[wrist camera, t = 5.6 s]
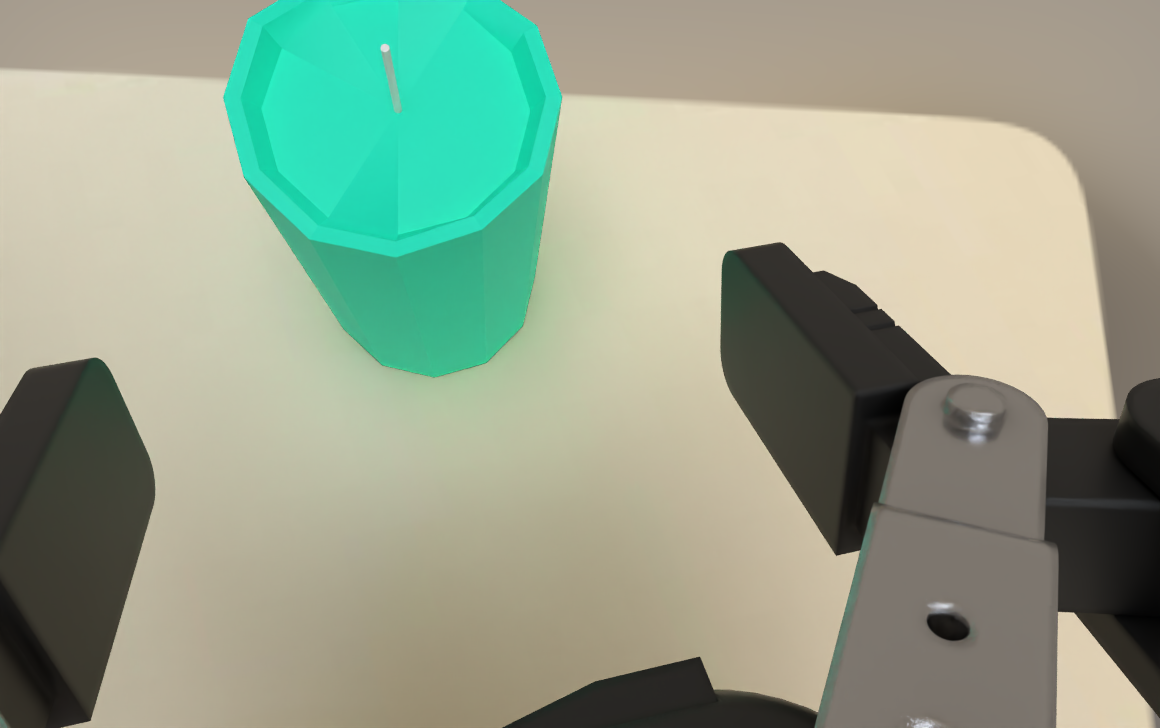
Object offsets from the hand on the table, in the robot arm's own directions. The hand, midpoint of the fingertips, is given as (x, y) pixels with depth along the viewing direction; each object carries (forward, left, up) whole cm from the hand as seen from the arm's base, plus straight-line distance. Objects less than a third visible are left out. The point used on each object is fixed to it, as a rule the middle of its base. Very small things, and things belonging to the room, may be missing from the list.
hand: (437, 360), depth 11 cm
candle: (-5, +2, -14) cm, 15 cm away
